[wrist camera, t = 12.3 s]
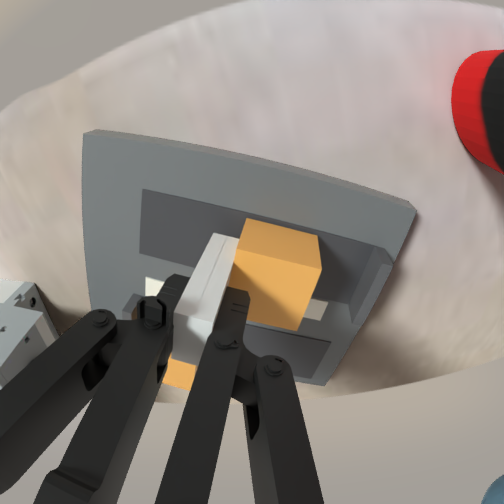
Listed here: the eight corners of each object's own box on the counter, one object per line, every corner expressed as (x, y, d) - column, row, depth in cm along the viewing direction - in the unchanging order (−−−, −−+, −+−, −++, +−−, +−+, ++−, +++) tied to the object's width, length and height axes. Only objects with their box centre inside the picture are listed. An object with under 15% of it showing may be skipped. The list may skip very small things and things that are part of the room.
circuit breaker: (106, 349, 28) (39, 475, 15) (17, 329, 30) (-46, 416, 17) (79, 287, 24) (-19, 422, 11) (-8, 277, 26) (-88, 364, 13)
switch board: (408, 201, 17) (429, 225, 14) (323, 372, 25) (325, 405, 22) (96, 129, 17) (63, 140, 14) (101, 315, 25) (83, 342, 22)
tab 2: (317, 235, 17) (322, 269, 14) (297, 291, 19) (296, 331, 16) (246, 217, 17) (236, 248, 14) (233, 276, 19) (222, 314, 16)
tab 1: (209, 319, 21) (196, 357, 18) (203, 356, 23) (192, 391, 20) (154, 304, 21) (136, 338, 18) (154, 342, 23) (138, 375, 20)
